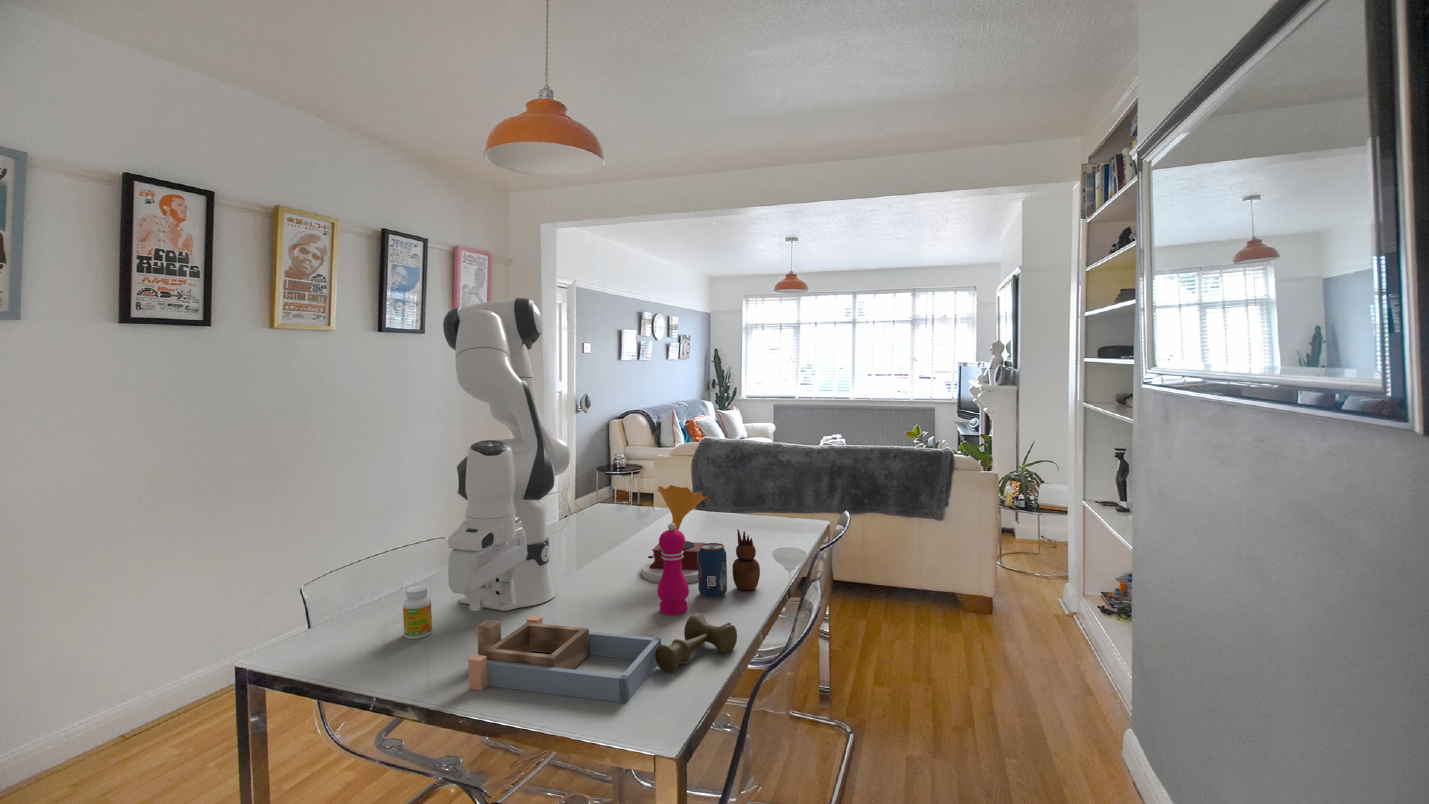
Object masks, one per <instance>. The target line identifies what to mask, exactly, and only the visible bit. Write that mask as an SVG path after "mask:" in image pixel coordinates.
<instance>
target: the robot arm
mask: <svg viewBox="0 0 1429 804" xmlns="http://www.w3.org/2000/svg"><path fill="white" fill-rule="evenodd" d="M442 326H443V334H444V338H445V341H446V343H447V344H448V346H449V347H450V348H451V349H453V350H454V351H455V354H454V355H455V356H454V357H455V372H456V378H457V379H456V380H457V383H458V384H459V386H460V387H461V388H462V390H463V391H465V392H466V393H467V394H468V395H469V396H471V397H472V398H474V399H476V400H478V401H480V402H482V403H483V402H484V403H487V404H489V410H490V413H491V416H492V417H493V418H494V419H495V420H496V421H497V422H499V423H501V424H503V425H505V426H506V427H507V428H508V429H509V430H510V433H511V434H512V437H513V438H505V439H487V440H486V439H485V440H480V441H477V442H474V443H473V444H471V445H470V446H469V447H468V453H467V456H466V457H465V458H463V460H461V461H460V462H459V463H458V464H457V466H456V471H457V477H458V489H457V491H456V494H458V495H459V496H460V497H462V498H463V499H464V500H465V501H467V506H466V510H465V520H464V521H463V522H462V523H461V524H460V526H459V527H458V528H457V529H456V530H455V531H453V532H452V533H451V534H450V536H449V537H448V539H447V547H448V549H452V550H451V551H450V553H449V556H448V561H447V562H448V563H447V564H448V565H447V566H448V567H447V569H448V570H447V573H448V574H447V577H448V586H449V589H450V591H451V592H452V593H455V594H461V595H460V597H459V603H462V604H464V605H465V604H466V605H469V610H470V611H473V612H479V611H480V610H481V609H482V608H486V609H492V610H497V611H502V612H505V611H511V610H514V609H518V608H525V607H527V608H528V607H532V606H536V605H541V604H543V603H545V602H548V601H550V600H552V599H553V598H555V596H556V594H557V593H556V591H555V587H554V584H553V580H552V575H551V569H550V556H551V555H550V552H551V551H550V538H549V537H548V523H547V522H548V521H547V508H546V506H545V504H543V503H542V501H540V500H542V499H543V498H544V497H546V496H547V495H548V494H549V493H550V492H551V491H552V490H553V489H554V486H555V480H556V478H555V477H557V476H559V475H561V474H563V473H565V472H566V470H567V469H568V467H569V464H570V460H571V453H570V452H571V451H570V449H569V447H568V445H567V443H566V441H564V439H562V438H561V437H559V436H558V435H557V434H555V433H554V431H552V430H551V428H550V427H549V425H548V424H547V423H546V421H545V419H544V417H543V415H542V413H541V409H540V406H539V401H538V396H537V390H536V384H535V377H534V372H533V368H532V363H531V359H530V356H529V352H528V351H529V350H531V349H532V346H533V344H534V343H536V342H537V341H538V339H540V337H541V334H542V328H543V317H542V313H541V311H540V309H539V307H538V306H537V304H536V302H535V301H533V300H532V299H531V298H526V297H522V298H521V297H516V298H515V299H499V300H498V299H496V300H488V301H487V302H482V303H481V302H480V303H477V304H472V305H468V306H465V307H462V306H459V307H456V308H454V309H452V310H451V309H450V311H448V312H447V313H446V315H445V316H444V318H443V325H442Z"/></svg>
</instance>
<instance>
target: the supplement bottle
mask: <svg viewBox="0 0 1429 804" xmlns="http://www.w3.org/2000/svg"><path fill="white" fill-rule="evenodd" d="M405 595H406V599H405V600H404V601H403V603H402V612H403V614H402V616H403V618H402V619H403V636H404V637H405V638H406V639H408V640H418V639H421V638H426V637H427V636H430V635H431V634H432V633H433V617H432V599H431V598H430V597H429V596H428V587H427V586H425V585H415V586H411V587H409V588H407V589H406V591H405Z"/></svg>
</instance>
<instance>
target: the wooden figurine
mask: <svg viewBox="0 0 1429 804" xmlns="http://www.w3.org/2000/svg"><path fill="white" fill-rule="evenodd" d="M735 555H736V559H734V560H733V563H732V579H733V582H734V585H735V587H736V588H737V589H738V590H740V591H744V592H745V591H746V592H747V591H754V590H756V588H757V587H758V585H759V581H760V576H761V567H760V564H759V561H758V560H757V559H755V557H756V555H757V551H756V547H755V545H754V542H753V538H752V537H751V538H750V535H749V534H747V536H746V531H745V530H743V532H742V536H741V532H740V529H739V528H737V546H736V548H735Z"/></svg>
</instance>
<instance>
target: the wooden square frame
mask: <svg viewBox="0 0 1429 804" xmlns="http://www.w3.org/2000/svg"><path fill="white" fill-rule="evenodd" d="M501 624H502V621H500V620H489V619H487V620H484V621H483V622H482V623H480V624H478V625H477V626H476V630H477V631H476V632H477V633H476V634H477V655H480V656H487V660H495V661H503V662H512V663H521V664H529V665H538V666H547V667H556V668H564V669H573V670H575V669H576V667H578V665H580V664H581V663H582V662H583V661H584V660H585V659H586V658H587V657H588V656H589V655H590V654H589V630H590V628H587V627H576V626H566V625H554V624H545V623H542V624H537V623H527V622H525V623H524V624H522V625H521V626H520V627H517V628H516V629H515V630H514V631H512V632H511V633H510V634H508V635H506V636H505V637H504V638H502V625H501ZM536 652H537V653H536ZM538 652H539V653H538ZM540 652H541V653H540ZM546 653H548V654H546Z"/></svg>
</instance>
